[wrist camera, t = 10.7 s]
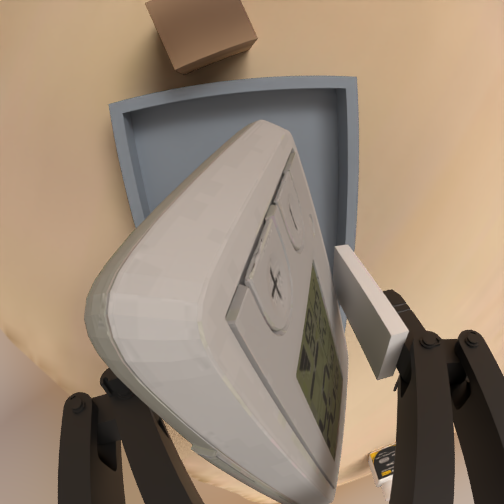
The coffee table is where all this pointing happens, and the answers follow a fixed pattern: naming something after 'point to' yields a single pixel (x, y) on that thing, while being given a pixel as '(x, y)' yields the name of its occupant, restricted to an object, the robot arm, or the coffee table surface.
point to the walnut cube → (201, 30)
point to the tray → (233, 120)
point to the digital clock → (234, 319)
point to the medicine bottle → (383, 468)
